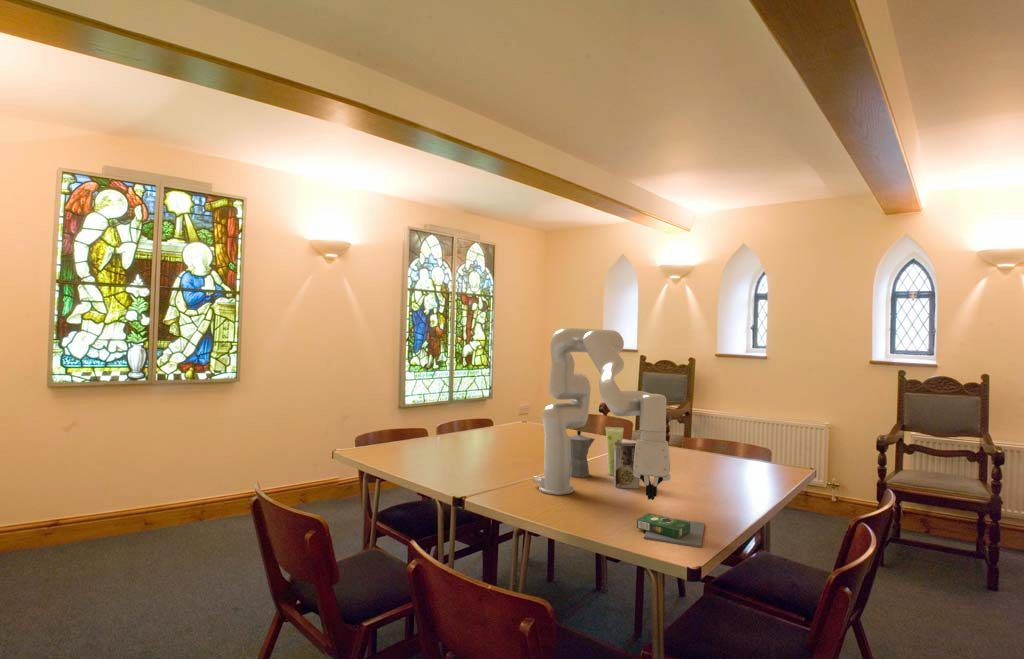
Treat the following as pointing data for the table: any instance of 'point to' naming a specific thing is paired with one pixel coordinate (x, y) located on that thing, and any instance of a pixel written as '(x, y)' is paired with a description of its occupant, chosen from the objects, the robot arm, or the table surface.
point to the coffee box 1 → (624, 465)
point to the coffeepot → (579, 455)
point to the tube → (612, 445)
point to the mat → (689, 539)
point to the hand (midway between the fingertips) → (651, 498)
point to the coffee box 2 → (663, 525)
